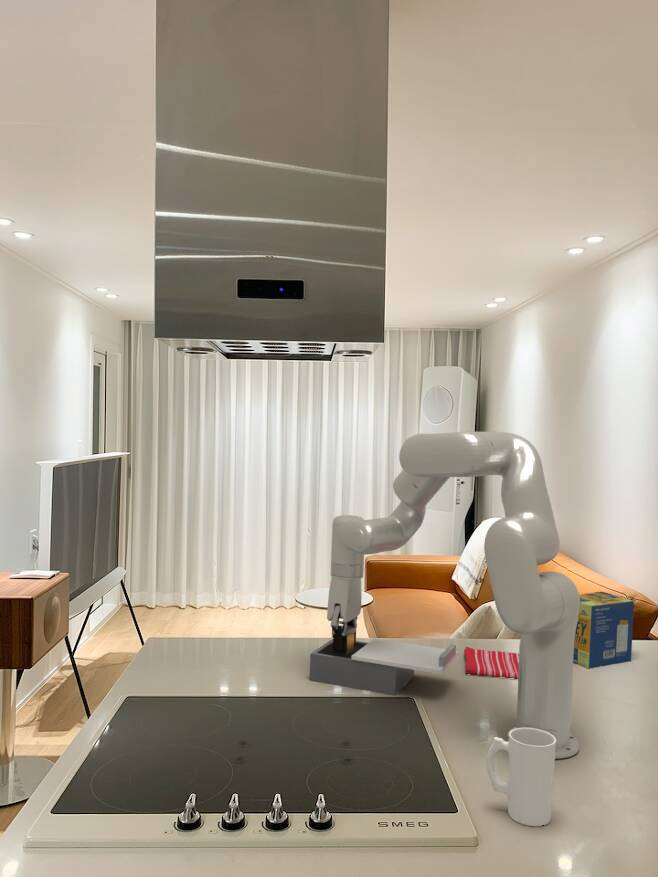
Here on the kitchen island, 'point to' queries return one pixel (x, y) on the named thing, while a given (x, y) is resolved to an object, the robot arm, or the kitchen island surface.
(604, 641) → the protein box
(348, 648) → the jar
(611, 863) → the kitchen island surface
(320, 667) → the housing
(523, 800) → the mug
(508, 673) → the dish towel
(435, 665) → the lid
